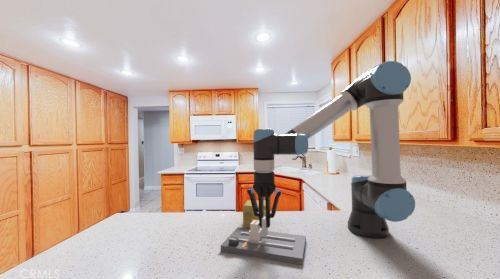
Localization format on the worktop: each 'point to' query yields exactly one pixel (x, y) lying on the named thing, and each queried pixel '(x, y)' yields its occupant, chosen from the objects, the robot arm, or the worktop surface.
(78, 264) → the worktop surface
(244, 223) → the cheese
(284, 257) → the console
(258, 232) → the fader
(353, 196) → the robot arm
